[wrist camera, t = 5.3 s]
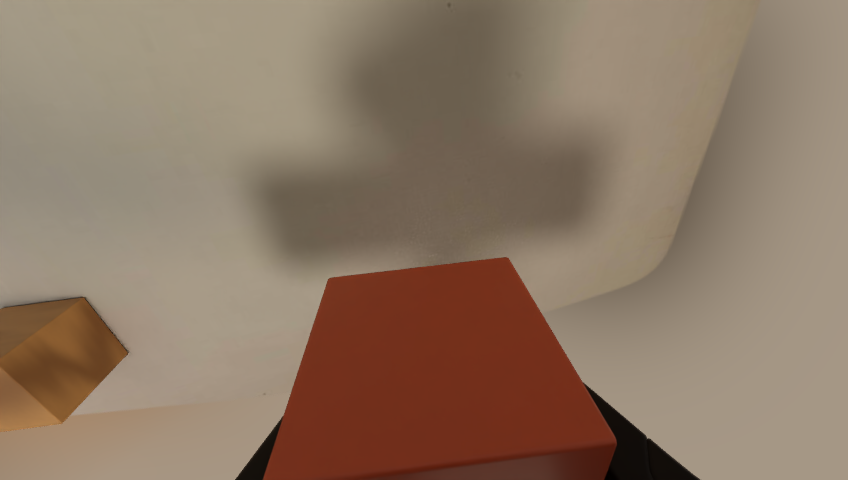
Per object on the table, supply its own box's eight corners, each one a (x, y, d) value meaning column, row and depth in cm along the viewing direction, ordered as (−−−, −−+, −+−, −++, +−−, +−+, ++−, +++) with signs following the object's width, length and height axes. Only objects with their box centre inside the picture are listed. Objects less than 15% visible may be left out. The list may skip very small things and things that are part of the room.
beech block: (128, 353, 22) (62, 424, 18) (55, 363, 22) (-29, 436, 18) (84, 297, 20) (-7, 362, 15) (2, 307, 20) (-113, 376, 15)
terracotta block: (502, 376, 11) (572, 575, 7) (361, 394, 11) (338, 609, 7) (508, 255, 9) (621, 442, 4) (327, 276, 9) (256, 491, 4)
